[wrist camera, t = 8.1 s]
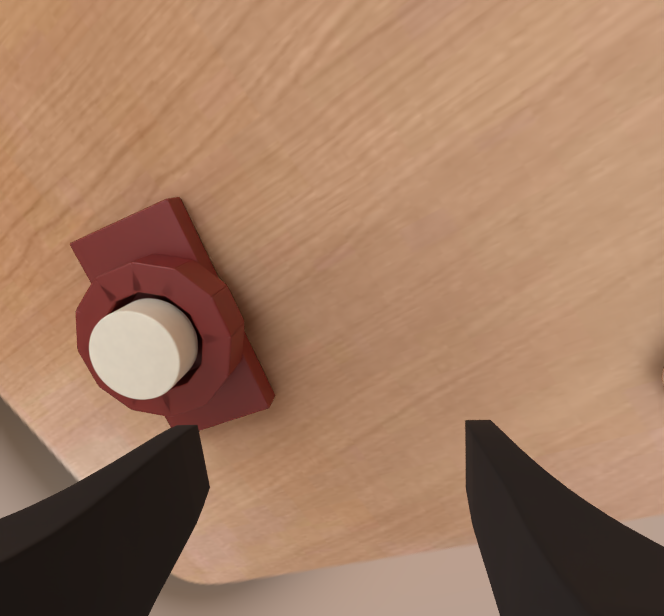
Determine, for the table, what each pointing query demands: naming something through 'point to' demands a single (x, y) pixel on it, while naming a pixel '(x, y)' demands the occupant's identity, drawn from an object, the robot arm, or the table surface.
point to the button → (143, 348)
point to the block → (188, 296)
